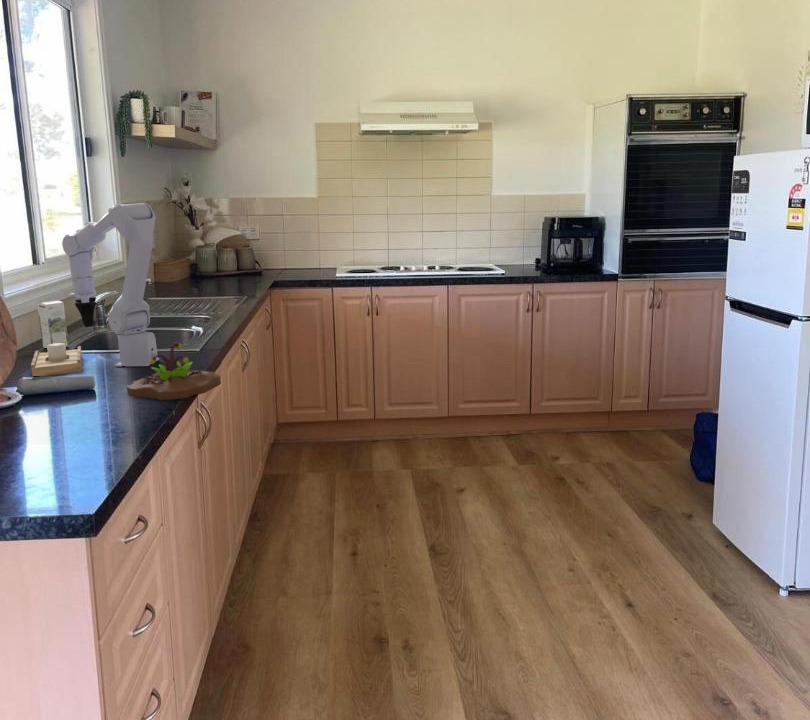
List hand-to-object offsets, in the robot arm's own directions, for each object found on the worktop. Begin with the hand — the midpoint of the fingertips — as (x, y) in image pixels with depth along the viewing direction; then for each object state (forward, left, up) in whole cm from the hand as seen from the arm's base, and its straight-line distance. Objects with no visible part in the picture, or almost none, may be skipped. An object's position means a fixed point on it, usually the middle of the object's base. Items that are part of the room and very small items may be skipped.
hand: (88, 324), depth 220 cm
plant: (-38, +34, -10) cm, 52 cm away
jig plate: (+5, +10, -10) cm, 15 cm away
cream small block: (+5, +10, -10) cm, 15 cm away
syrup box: (+20, -16, -10) cm, 28 cm away
